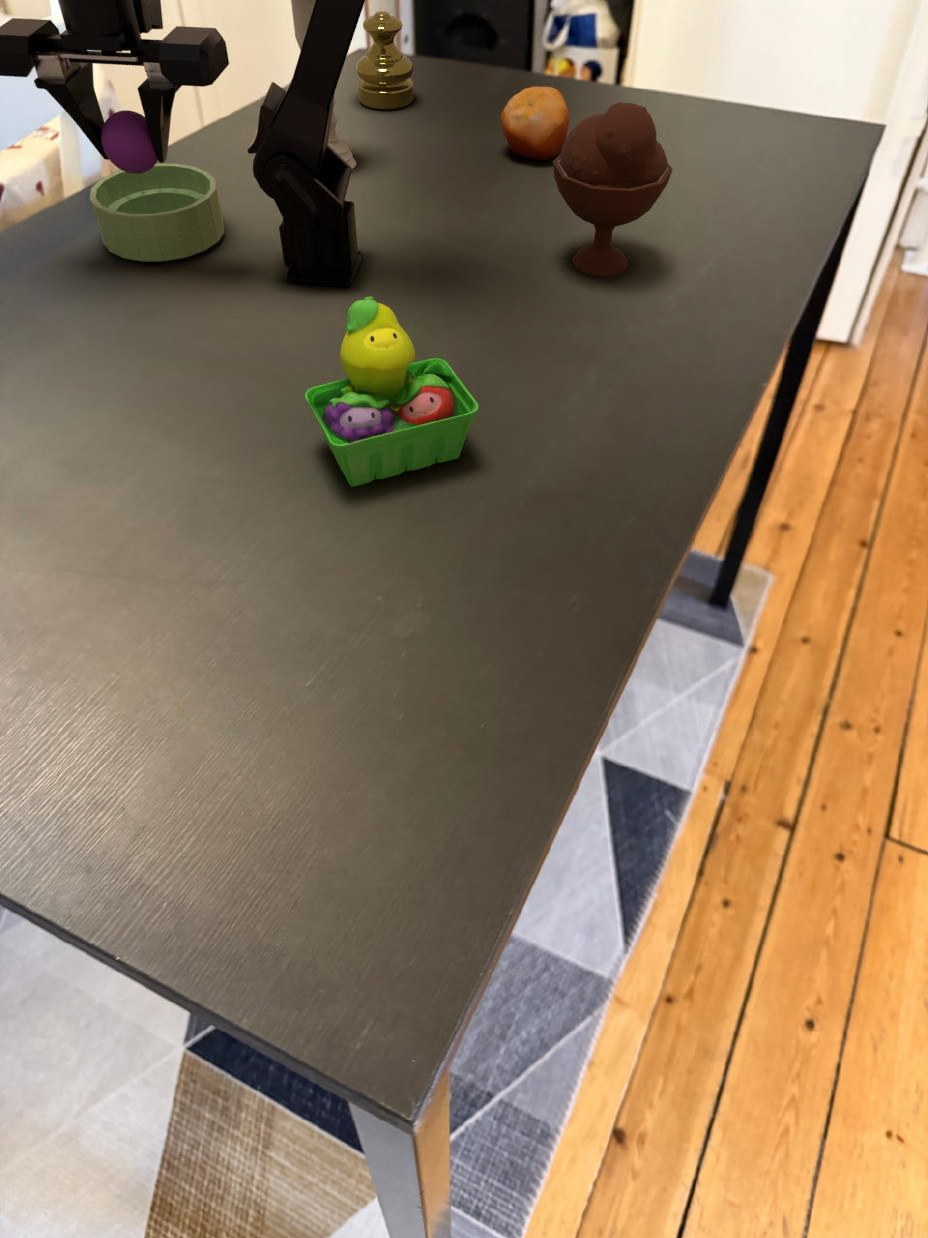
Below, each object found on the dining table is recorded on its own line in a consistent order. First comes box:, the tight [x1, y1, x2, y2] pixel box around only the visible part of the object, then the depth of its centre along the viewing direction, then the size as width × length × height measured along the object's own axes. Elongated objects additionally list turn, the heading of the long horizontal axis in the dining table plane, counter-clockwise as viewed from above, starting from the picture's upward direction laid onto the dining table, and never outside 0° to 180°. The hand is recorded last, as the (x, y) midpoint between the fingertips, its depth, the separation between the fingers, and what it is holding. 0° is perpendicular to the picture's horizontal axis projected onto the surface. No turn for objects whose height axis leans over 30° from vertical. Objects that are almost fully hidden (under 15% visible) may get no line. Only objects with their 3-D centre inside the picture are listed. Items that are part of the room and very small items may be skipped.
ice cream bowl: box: [552, 102, 674, 277], centre depth 84 cm, size 11×11×15 cm
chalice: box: [290, 0, 357, 170], centre depth 98 cm, size 7×7×18 cm
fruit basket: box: [304, 295, 479, 487], centre depth 65 cm, size 11×9×11 cm
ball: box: [101, 109, 159, 174], centre depth 79 cm, size 5×5×5 cm
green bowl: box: [89, 163, 225, 262], centre depth 90 cm, size 12×12×5 cm
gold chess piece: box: [355, 10, 414, 111], centre depth 115 cm, size 7×7×10 cm
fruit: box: [499, 85, 570, 161], centre depth 106 cm, size 8×8×8 cm
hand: (136, 159), depth 81 cm, fingers closed on ball, 5 cm apart
